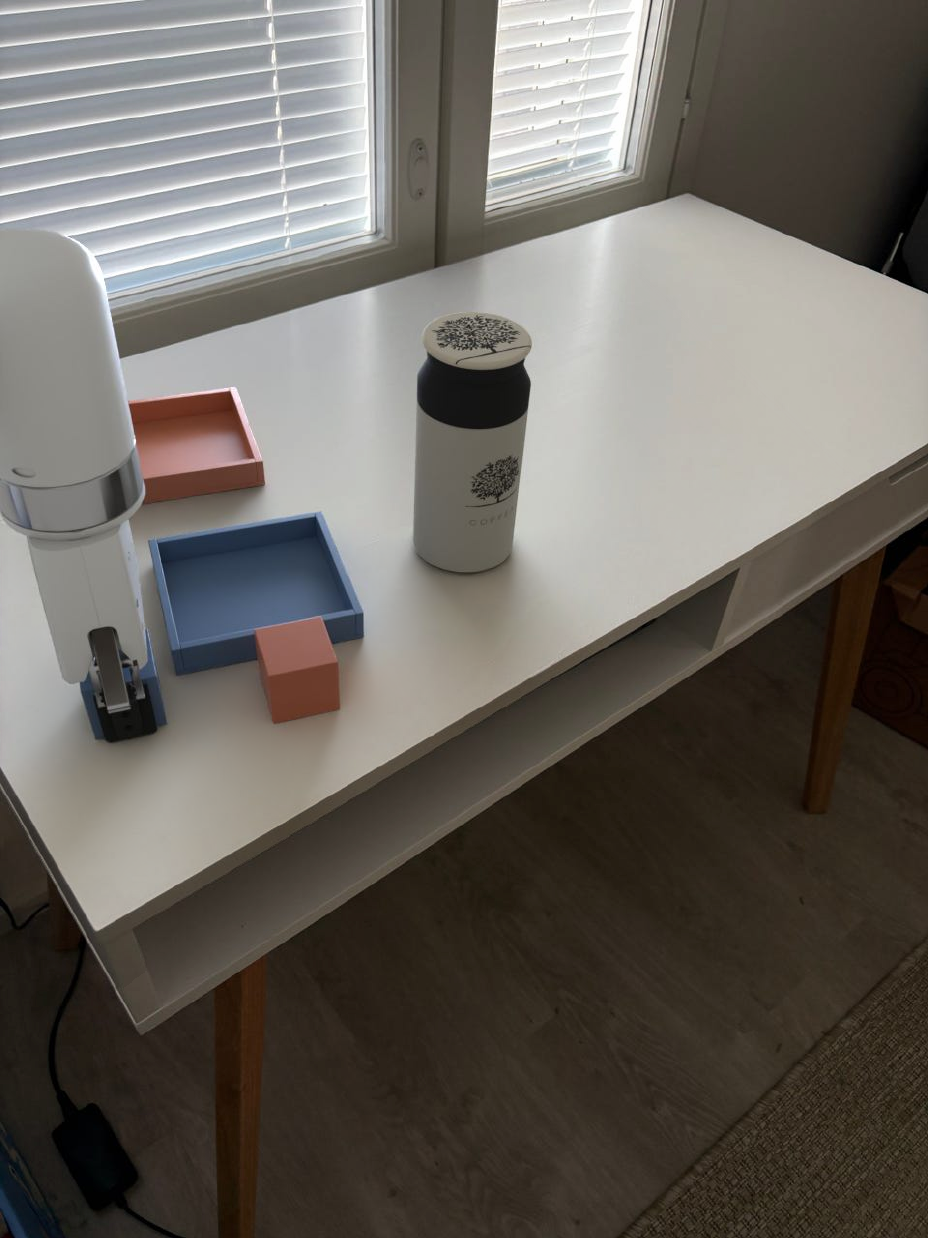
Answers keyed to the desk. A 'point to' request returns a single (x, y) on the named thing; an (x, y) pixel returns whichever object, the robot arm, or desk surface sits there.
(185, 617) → the blue tray
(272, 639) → the terracotta block
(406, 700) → the desk surface
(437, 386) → the travel mug
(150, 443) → the terracotta tray
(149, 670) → the blue block
